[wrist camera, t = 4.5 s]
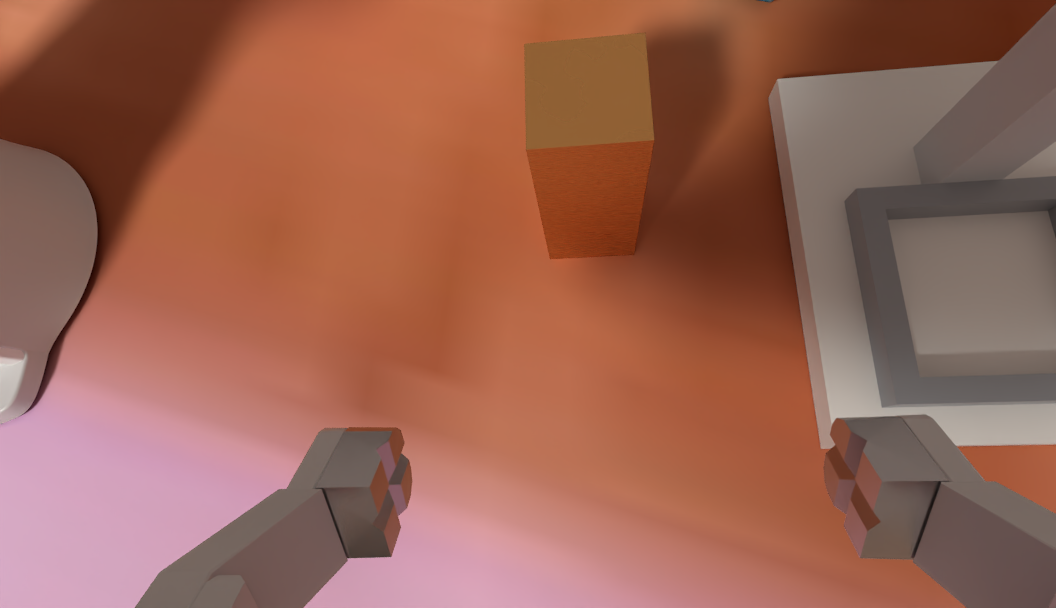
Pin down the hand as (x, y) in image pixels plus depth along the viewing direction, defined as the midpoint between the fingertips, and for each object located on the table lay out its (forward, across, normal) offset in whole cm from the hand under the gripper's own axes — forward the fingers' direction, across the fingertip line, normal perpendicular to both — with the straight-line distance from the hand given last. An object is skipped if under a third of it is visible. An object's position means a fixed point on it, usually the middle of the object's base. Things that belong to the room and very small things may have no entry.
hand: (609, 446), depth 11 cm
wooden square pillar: (+18, 0, +2) cm, 18 cm away
